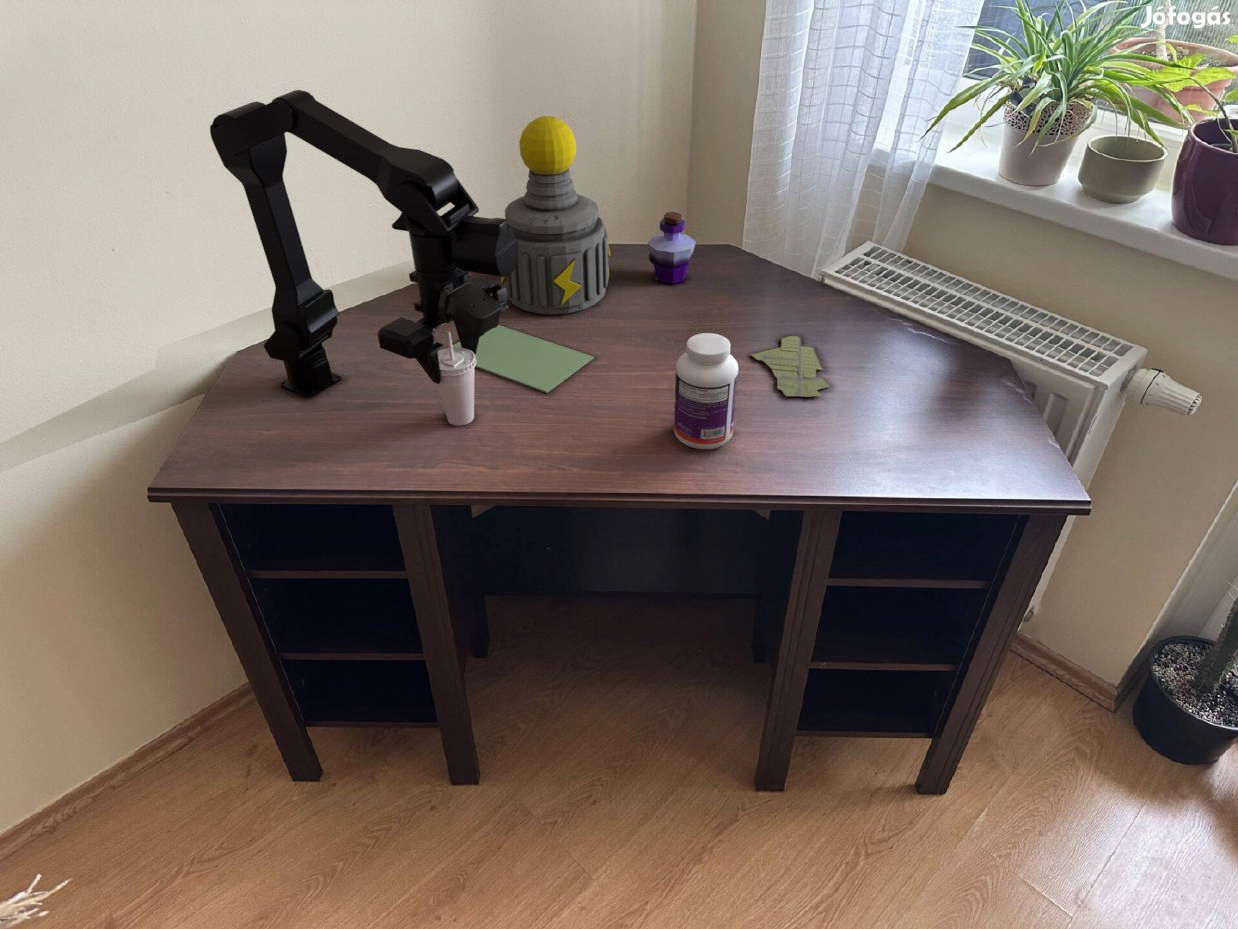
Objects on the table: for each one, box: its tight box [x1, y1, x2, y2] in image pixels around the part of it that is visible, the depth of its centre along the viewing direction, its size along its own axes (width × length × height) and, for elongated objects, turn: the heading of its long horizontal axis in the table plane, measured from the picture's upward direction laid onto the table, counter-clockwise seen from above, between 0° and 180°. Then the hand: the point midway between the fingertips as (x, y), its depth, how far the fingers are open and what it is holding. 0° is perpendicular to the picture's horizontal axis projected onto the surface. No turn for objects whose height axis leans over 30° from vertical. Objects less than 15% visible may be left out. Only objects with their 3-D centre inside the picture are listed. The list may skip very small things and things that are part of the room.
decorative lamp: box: [500, 115, 611, 316], centre depth 145 cm, size 19×19×30 cm
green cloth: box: [452, 324, 595, 394], centre depth 136 cm, size 21×12×1 cm, turn 56°
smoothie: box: [436, 330, 476, 426], centre depth 119 cm, size 6×6×14 cm
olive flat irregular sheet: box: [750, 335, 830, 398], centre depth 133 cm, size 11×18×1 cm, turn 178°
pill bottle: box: [673, 332, 739, 450], centre depth 115 cm, size 8×8×14 cm
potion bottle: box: [647, 211, 697, 286], centre depth 155 cm, size 9×9×12 cm
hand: (453, 372), depth 118 cm, fingers closed on smoothie, 6 cm apart
